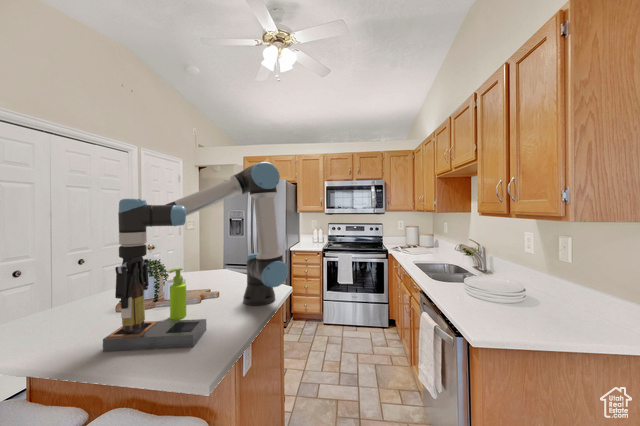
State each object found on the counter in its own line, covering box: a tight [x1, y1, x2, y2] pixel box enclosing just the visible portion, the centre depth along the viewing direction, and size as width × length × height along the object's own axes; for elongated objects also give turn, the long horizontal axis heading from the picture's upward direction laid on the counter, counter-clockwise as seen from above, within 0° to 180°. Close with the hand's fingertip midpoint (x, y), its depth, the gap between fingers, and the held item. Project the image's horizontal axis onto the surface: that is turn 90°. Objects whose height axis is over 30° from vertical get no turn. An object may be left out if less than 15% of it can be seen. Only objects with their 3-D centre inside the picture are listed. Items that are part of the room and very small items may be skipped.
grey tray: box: [102, 318, 207, 353], centre depth 87 cm, size 27×12×4 cm, turn 95°
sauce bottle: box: [121, 268, 146, 332], centre depth 86 cm, size 6×6×20 cm
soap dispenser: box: [167, 267, 187, 321], centre depth 105 cm, size 6×7×20 cm
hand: (133, 313), depth 86 cm, fingers closed on sauce bottle, 6 cm apart
